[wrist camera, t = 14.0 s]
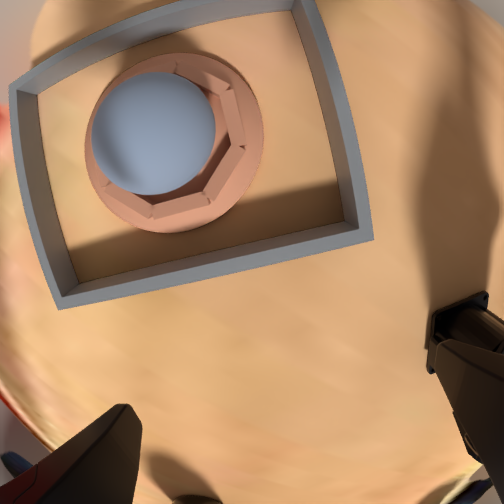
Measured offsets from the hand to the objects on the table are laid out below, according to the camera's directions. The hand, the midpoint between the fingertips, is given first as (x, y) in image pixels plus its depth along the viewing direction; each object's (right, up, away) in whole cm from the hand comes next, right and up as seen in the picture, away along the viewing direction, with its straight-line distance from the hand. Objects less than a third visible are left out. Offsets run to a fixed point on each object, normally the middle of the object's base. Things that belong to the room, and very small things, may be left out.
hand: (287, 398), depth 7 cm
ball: (-6, +9, +6) cm, 12 cm away
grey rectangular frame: (-6, +10, +9) cm, 15 cm away
